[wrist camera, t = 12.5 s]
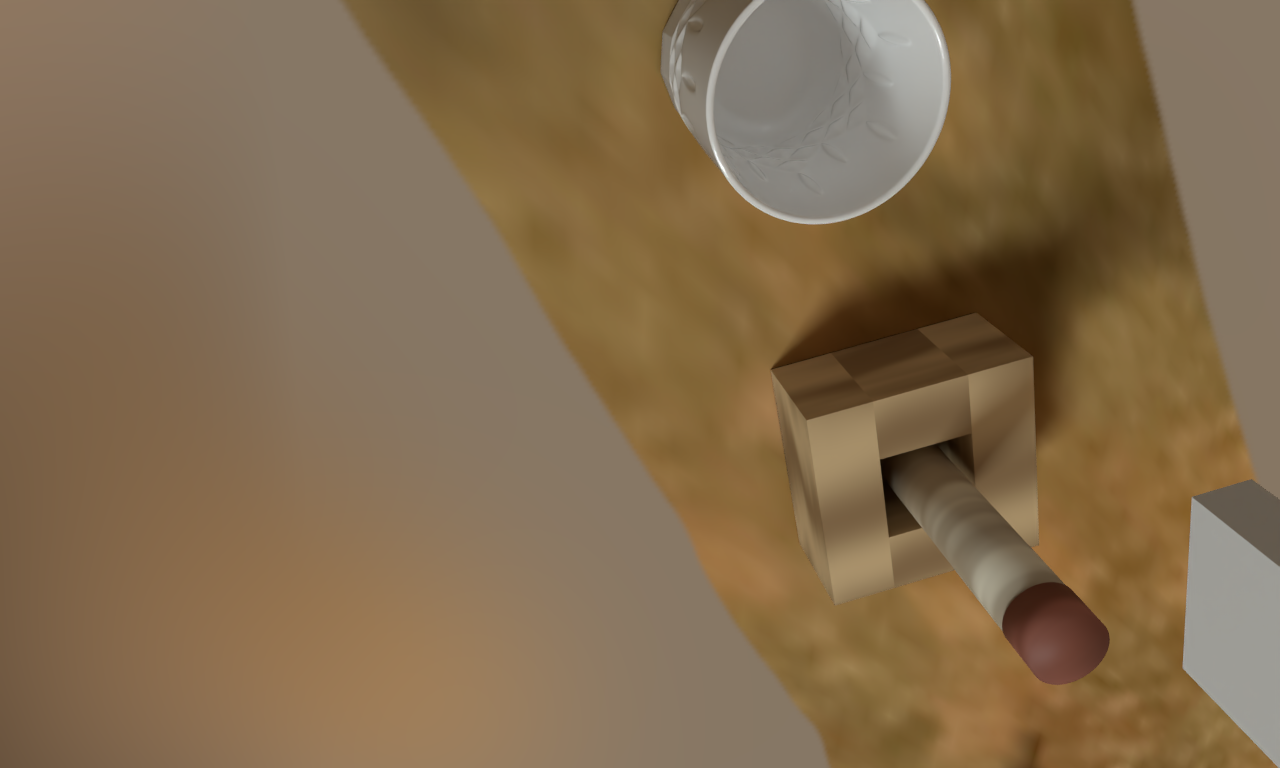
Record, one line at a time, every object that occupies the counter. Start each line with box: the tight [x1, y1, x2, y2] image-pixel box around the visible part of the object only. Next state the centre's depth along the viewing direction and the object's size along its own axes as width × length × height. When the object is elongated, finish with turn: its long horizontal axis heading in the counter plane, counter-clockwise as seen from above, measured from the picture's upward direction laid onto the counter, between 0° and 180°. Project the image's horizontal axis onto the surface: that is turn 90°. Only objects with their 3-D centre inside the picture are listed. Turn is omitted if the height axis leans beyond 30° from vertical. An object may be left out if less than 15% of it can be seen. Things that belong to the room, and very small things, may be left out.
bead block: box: [771, 313, 1039, 605], centre depth 47 cm, size 10×10×5 cm
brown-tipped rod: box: [880, 444, 1110, 685], centre depth 42 cm, size 3×3×16 cm
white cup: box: [661, 0, 951, 224], centre depth 36 cm, size 8×8×10 cm
